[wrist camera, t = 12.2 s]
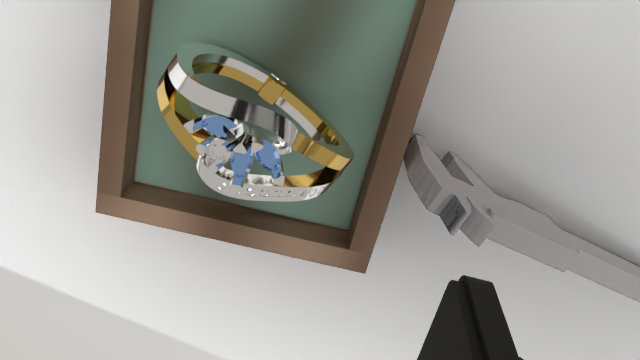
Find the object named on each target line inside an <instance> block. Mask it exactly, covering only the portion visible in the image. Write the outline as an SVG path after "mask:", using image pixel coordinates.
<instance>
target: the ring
mask: <svg viewBox="0 0 640 360" xmlns="http://www.w3.org/2000/svg"><path fill="white" fill-rule="evenodd" d="M200 73H213V74H219V75H223V76H227V77H230V78H232V79H235V80H237V81H240V82H242V83H244V84H246V85H248V86H249V87H251V88H253V89H255V90H256V91H258V92H257V93H258V95H259V96H260V97H262V98H263V99H264V100H266V101H267V102H269V103H270V104H272V105H275V104H277V105H278V106H279V107H280V108H282V109H283V110H284V111H285V112H287V113H288V114H289V115H290V116H291V117H292V118H294V119H295V120H296V121H297V122H298V123H299V124H300V125H301V126H302V127H303V128H304V129H305V130H306V132H307V133H308V134H309V135H310V136H311V138H312V139H311V138H308V137H306V136H305V135H303V134H302V133H300V132H299V131H298V130H297V128H296V126H295V125H294V124H293V123H292V122H291V121H290V120H288V119H287V118H285V117H284V116H282V115H280V114H279V113H277V112H274V111H272V110H270V109H267V108H265V107H262V106H259V105H256V104H253V103H250V102H246V101H243V100H240V99H236V98H233V97H230V96H227V95H224V94H221V93H219V92H216V91H214V90H212V89H210V88H208V87H207V86H205V85H204V84H202V83H201V82H200V81H199V80H198V79H197V77H196V76H195V74H200ZM157 97H158V103H159V107H160V110H161V112H162V115H163V117H164V119H165V121H166V123H167V124H168V126H169V128H170V129H171V131H172V132H173V134H174V135H175V136H176V138H177V139H178V140H179V142H180V143H181V144H182V145H183V146H184V148H185V149H186V150H187V151H188V152H189V153H190V154H191V155H192V156H193V157H194V158H195V159H196V160H197V161H196V166H197V171H198V174H199V176H200V177H201V179H202V180H203V181H204V183H205V184H206V185H208V186H209V187H210V188H212V189H213V190H215V191H216V192H218V193H221V194H223V195H226V196H229V197H233V198H238V199H244V200H254V201H277V202H290V201H302V200H307V199H311V198H314V197H317V196H319V195H321V194H323V193H324V192H326V191H327V190H328V189H329V188H330V187H331V186H332V185H333V184H334V182H335V181H336V180H337V179H338V178H339V177H340V176H341V174H342V173H343V170H345V169H346V167H347V166H348V165H349V164H350V163H351V161H352V160H353V159H354V157H355V156H354V153H353V150H352V149H351V147H350V145H349V144H348V143H347V141H346V140H345V139H344V137H343V136H342V135H341V134H340V132H339V131H338V130H337V129H336V128H335V127H334V126H333V125H332V124H331V123H330V122H329V121H328V120H327V119H326V118H325V117H324V116H323V115H322V114H321V113H320V112H319V111H318V110H317V109H316V108H315V107H314V106H313V105H311V104H310V103H309V102H308V101H307V100H306V99H304V98H303V97H302V96H301V95H300V94H298V93H297V92H296V91H295V90H293V89H292V88H291V87H289V86H288V83H287V82H286V81H285V80H284V79H283V78H282V77H280V76H279V75H278V74H276V73H274V72H271V73H270V72H269V71H267V70H266V69H264V68H263V67H261V66H259V65H258V64H256V63H254V62H252V61H250V60H248V59H247V58H245V57H243V56H241V55H238V54H236V53H234V52H232V51H229V50H226V49H224V48H221V47H218V46H214V45H210V44H205V43H186V44H184V45H182V46H181V47H180V48H179V49H178V50H177V52H176V53H175V55H174V56H173V58H172V59H171V61H170V63H169V65H168V67H167V68H166V70H165V71H164V73H163V75H162V76H161V78H160V80H159V83H158V87H157ZM188 100H190V101H192V102H193V103H195V104H197V105H199V106H201V107H203V108H205V109H208V110H210V111H213V112H215V114H212V115H210V113H208V114H205V115H203V116H201V117H198V116H197V115H196V113H195V112H194V110H193V109H192V107H191V105H190V103H189V101H188ZM239 120H241V121H244V122H247V123H251V124H254V125H257V126H260V127H262V128H265V129H267V130H269V131H271V132H273V133H275V134H276V136H265V135H263V133H262V131H260V130H257V129H251V134H250V133H249V131H250V129H249V127H248V126H247V125H246V124H245V123H244V122H242V123H241V122H240V121H239ZM292 149H294V150H295V151H297V152H299V153H301V154H302V155H304V156H306V157H308V158H310V159H312V160H314V161H316V162H318V163H320V164H322V165H324V167H323V168H322V169H321V170H319V171H316V172H313V173H310V174H305V175H296V176H285V175H284V170H283V164H282V160H281V159H280V154H288V153H290V152H291V151H292ZM255 157H256V158H257V160H258V161H259V163H260V164H261V165H262V166H263V167H264V168H266V169H267V170H269V171H271V176H269V175H255V174H248V173H249V171H250V169H251V167H252V164H253V161H254V158H255ZM229 161H231V166H232V170H233V171H232V170H229V169H226V168H224V167H223V166H225V165H226V164H227V163H228V162H229Z"/></svg>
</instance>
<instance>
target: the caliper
mask: <svg viewBox="0 0 640 360" xmlns="http://www.w3.org/2000/svg"><path fill="white" fill-rule="evenodd" d="M404 161H405V166H406V170H407V174H408V178H409V181H410V183H411V184H412V186H413V188H414V189H415V191H416V193H417V194H418V196H419V198H420V199H421V201H422V202H423V204H424V206H425V207H426V209H427V210H429V211H431V212H433V213H435V214H437V215H439V216H440V217H441V219H442V221H443V222H444V224H445V226H446V227H447V229H448V231H449V233H450V234H451V235H454V234H455V233H456V231H457V230H458V229H459V228H460V229H461V231H462V232H463V233H464V234H465V235H466V236H467V237H468V238H469V239H470V240H471V241H472V242H473V243H474V244H476V245H477V246H478V247H479V246H480V245H481V244H482V243H483V242H484V240H485V239H486V238H488V239H490V240H492V241H495V242H497V243H499V244H501V245H504V246H506V247H508V248H510V249H513V250H515V251H517V252H520V253H522V254H524V255H526V256H529V257H531V258H533V259H535V260H538V261H540V262H542V263H544V264H547V265H549V266H551V267H553V268H556V269H558V270H560V271H562V272H564V271H565V270H566V269H568V270H570V271H572V272H574V273H576V274H579V275H581V276H583V277H585V278H587V279H590V280H592V281H594V282H596V283H598V284H601V285H603V286H605V287H607V288H609V289H612V290H614V291H616V292H618V293H620V294H623V295H625V296H627V297H629V298H631V299H633V300H636V301H638V302H640V267H638V266H636V265H634V264H632V263H630V262H628V261H626V260H624V259H622V258H620V257H618V256H616V255H614V254H612V253H610V252H608V251H606V250H604V249H602V248H599V247H597V246H595V245H593V244H591V243H589V242H587V241H585V240H583V239H581V238H579V237H577V236H575V235H573V234H571V233H569V232H567V231H565V230H563V229H560V228H558V226H557V225H556V224H555V223H554V222H553V221H552V220H551V218H549V217H548V216H547V215H545V214H543V213H540V212H537V211H535V210H532V209H531V208H529V207H527V206H526V205H524V204H522V203H520V202H516V201H513V200H510V199H505V198H503V197H501V196H499V195H497V194H495V193H494V192H493V191H492V190H491V189H490V188H489V187H488V186H487V185H486V184H485V183H484V182H483V181H482V180H481V179H480V178H479V177H478V176H477V175H476V174H475V173H474V172H473V171H472V170H471V169H470V168H469V167H468V166H467V165H466V164H465V163H464V162H463V161H462V160H461V159H460V158H459V157H458V156H457V155H455V154H453V153H451V152H450V151H448V153H447V154H446V156H445V157H444V158H443V160H442V161H440V159H439V158H438V157H437V155H436V154H435V152H434V151H433V149H432V148H431V147H430V145H429V144H428V142H427V141H426V139H425V138H424V137H423V136H420V135H415V136H414V138H413V139H412V141H411V142H410V144H409V145H408V147H407V148H406V151H405V154H404Z"/></svg>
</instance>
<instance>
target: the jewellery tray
mask: <svg viewBox="0 0 640 360" xmlns="http://www.w3.org/2000/svg"><path fill="white" fill-rule="evenodd" d="M454 3H455V0H111V13H110V26H109V39H108V53H107V66H106V79H105V93H104V106H103V119H102V133H101V146H100V159H99V173H98V186H97V199H96V212H97V213H101V214H106V215H110V216H115V217H119V218H123V219H128V220H132V221H137V222H141V223H145V224H150V225H154V226H158V227H163V228H167V229H172V230H176V231H180V232H185V233H189V234H194V235H198V236H202V237H207V238H211V239H216V240H220V241H224V242H229V243H233V244H237V245H242V246H246V247H251V248H255V249H259V250H264V251H268V252H273V253H277V254H281V255H286V256H290V257H294V258H299V259H303V260H308V261H312V262H316V263H321V264H325V265H330V266H334V267H338V268H343V269H347V270H352V271H356V272H360V273H365V272H366V269H367V266H368V263H369V260H370V257H371V254H372V251H373V248H374V245H375V242H376V239H377V236H378V233H379V230H380V227H381V224H382V221H383V218H384V215H385V212H386V209H387V206H388V203H389V200H390V197H391V194H392V191H393V188H394V185H395V182H396V179H397V176H398V173H399V170H400V166H401V163H402V160H403V157H404V154H405V151H406V148H407V145H408V142H409V139H410V136H411V133H412V130H413V127H414V124H415V121H416V118H417V115H418V112H419V109H420V106H421V103H422V100H423V97H424V94H425V91H426V88H427V85H428V82H429V79H430V76H431V73H432V70H433V67H434V64H435V61H436V58H437V55H438V52H439V49H440V46H441V42H442V39H443V36H444V33H445V30H446V27H447V24H448V21H449V18H450V15H451V12H452V9H453V6H454ZM186 43H205V44H210V45H214V46H218V47H221V48H224V49H226V50H229V51H232V52H234V53H236V54H238V55H241V56H243V57H245V58H247V59H248V60H250V61H252V62H254V63H256V64H258V65H259V66H261V67H263V68H264V69H266V70H267V71H269V72H270V73H271V72H274V73H276V74H278V75H279V76H280V77H282V78H283V79H284V80H285V81H286V82H287V83H288V86H289V87H291V88H292V89H293V90H295V91H296V92H297V93H298V94H300V95H301V96H302V97H303V98H304V99H306V100H307V101H308V102H309V103H310V104H311V105H313V106H314V107H315V108H316V109H317V110H318V111H319V112H320V113H321V114H322V115H323V116H324V117H325V118H326V119H327V120H328V121H329V122H330V123H331V124H332V125H333V126H334V127H335V128H336V129H337V130H338V131H339V132H340V134H341V135H342V136H343V137H344V139H345V140H346V141H347V143H348V144H349V145H350V147H351V149H352V150H353V153H354V156H355V157H354V159H353V160H352V161H351V163H350V164H349V165H348V166H347V167H346V169H345V170H343V173H342V174H341V176H340V177H339V178H338V179H337V180H336V181H335V182H334V184H333V185H332V186H331V187H330V188H329V189H328V190H327V191H326V192H324V193H323V194H321V195H319V196H317V197H314V198H311V199H307V200H302V201H290V202H277V201H254V200H244V199H238V198H233V197H229V196H226V195H223V194H221V193H218V192H216V191H215V190H213V189H212V188H210V187H209V186H208V185H206V184H205V183H204V181H203V180H202V179H201V177H200V176H199V174H198V171H197V166H196V161H197V160H196V159H195V158H194V157H193V156H192V155H191V154H190V153H189V152H188V151H187V150H186V149H185V148H184V146H183V145H182V144H181V143H180V142H179V140H178V139H177V138H176V136H175V135H174V134H173V132H172V131H171V129H170V128H169V126H168V124H167V123H166V121H165V119H164V117H163V115H162V112H161V110H160V107H159V103H158V97H157V87H158V83H159V80H160V78H161V76H162V75H163V73H164V71H165V70H166V68H167V67H168V65H169V63H170V61H171V59H172V58H173V56H174V55H175V53H176V52H177V50H178V49H179V48H180V47H181V46H182V45H184V44H186ZM195 76H196V77H197V79H198V80H199V81H200V82H201V83H202V84H204V85H205V86H207V87H208V88H210V89H212V90H214V91H216V92H219V93H221V94H224V95H227V96H230V97H233V98H236V99H240V100H243V101H246V102H250V103H253V104H256V105H259V106H262V107H265V108H267V109H270V110H272V111H274V112H277V113H279V114H280V115H282V116H284V117H285V118H287V119H288V120H290V121H291V122H292V123H293V124H294V125H295V126H296V128H297V130H298V131H299V132H300V133H302V134H303V135H305V136H306V137H308V138H311V136H310V135H309V134H308V133H307V132H306V130H305V129H304V128H303V127H302V126H301V125H300V124H299V123H298V122H297V121H296V120H295V119H294V118H292V117H291V116H290V115H289V114H288V113H287V112H285V111H284V110H283V109H282V108H280V107H279V106H278V105H277V104H275V105H272V104H270V103H269V102H267V101H266V100H264V99H263V98H262V97H260V96H259V95H258V93H257V92H258V91H256V90H255V89H253V88H251V87H249V86H248V85H246V84H244V83H242V82H240V81H237V80H235V79H232V78H230V77H227V76H223V75H219V74H213V73H200V74H195ZM188 101H189V103H190V105H191V107H192V109H193V110H194V112H195V113H196V115H197V116H198V117H201V116H203V115H205V114H208V113H210V115H212V114H215V112H213V111H210V110H208V109H205V108H203V107H201V106H199V105H197V104H195V103H193V102H192V101H190V100H188ZM239 121H240V122H241V123H242V122H244V121H241V120H239ZM244 123H245V124H246V125H247V126H248V127H249V129H250V131H249V133H250V134H251V129H257V130H260V131H262V133H263V135H265V136H276V134H275V133H273V132H271V131H269V130H267V129H265V128H262V127H260V126H257V125H254V124H251V123H247V122H244ZM311 139H312V138H311ZM280 159H281V160H282V164H283V170H284V175H285V176H296V175H305V174H310V173H313V172H316V171H319V170H321V169H322V168H323V167H324V165H322V164H320V163H318V162H316V161H314V160H312V159H310V158H308V157H306V156H304V155H302V154H301V153H299V152H297V151H295V150H294V149H292V151H291V152H290V153H288V154H280ZM223 167H224V168H226V169H229V170H232V166H231V161H229V162H228V163H227V164H226V165H225V166H223ZM232 171H233V170H232ZM248 174H255V175H269V176H271V171H269V170H267V169H266V168H264V167H263V166H262V165H261V164H260V163H259V161H258V160H257V158H256V157H255V158H254V161H253V164H252V167H251V169H250V171H249V173H248Z"/></svg>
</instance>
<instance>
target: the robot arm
mask: <svg viewBox="0 0 640 360" xmlns="http://www.w3.org/2000/svg"><path fill="white" fill-rule="evenodd" d="M417 360H523V359H522V358H521V357H518V354H517V351H516V348H515V345H514V342H513V340H512V337H511V334H510V331H509V328H508V325H507V322H506V319H505V317H504V314H503V311H502V308H501V305H500V302H499V299H498V296H497V294H496V291H495V288H494V285H493V283H492V282H489V281H485V280H481V279H477V278H473V277H469V276H465V275H463V276H461V278H460V279H459V281H455V280H451V281H450V282H449V284H448V286H447V288H446V290H445V293H444V295H443V298H442V300H441V302H440V305H439V307H438V310H437V312H436V315H435V317H434V320H433V322H432V324H431V327H430V329H429V332H428V334H427V337H426V339H425V342H424V344H423V346H422V349H421V351H420V354H419V356H418V359H417Z"/></svg>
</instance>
